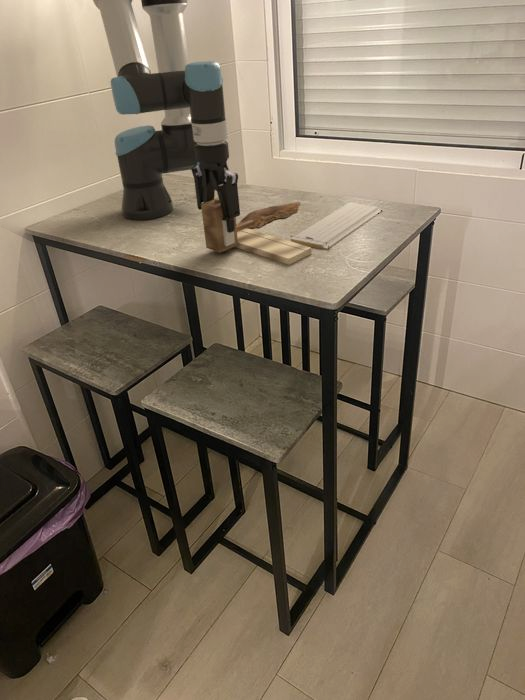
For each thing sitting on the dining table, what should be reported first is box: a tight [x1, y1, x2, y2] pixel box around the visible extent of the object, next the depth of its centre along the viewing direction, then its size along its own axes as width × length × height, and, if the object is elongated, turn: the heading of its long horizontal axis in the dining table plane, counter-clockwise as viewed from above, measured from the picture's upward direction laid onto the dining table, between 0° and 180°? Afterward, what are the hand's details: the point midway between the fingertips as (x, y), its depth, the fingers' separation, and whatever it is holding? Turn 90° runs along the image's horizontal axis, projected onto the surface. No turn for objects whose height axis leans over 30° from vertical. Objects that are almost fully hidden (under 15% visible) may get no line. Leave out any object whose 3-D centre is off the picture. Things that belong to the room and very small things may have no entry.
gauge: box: [201, 197, 255, 254], centre depth 130 cm, size 5×14×12 cm, turn 136°
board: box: [233, 228, 313, 266], centre depth 131 cm, size 22×8×2 cm, turn 46°
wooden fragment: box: [236, 201, 301, 229], centre depth 151 cm, size 26×11×1 cm, turn 132°
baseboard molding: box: [290, 202, 381, 251], centre depth 140 cm, size 31×3×12 cm
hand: (221, 241), depth 130 cm, fingers closed on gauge, 5 cm apart
